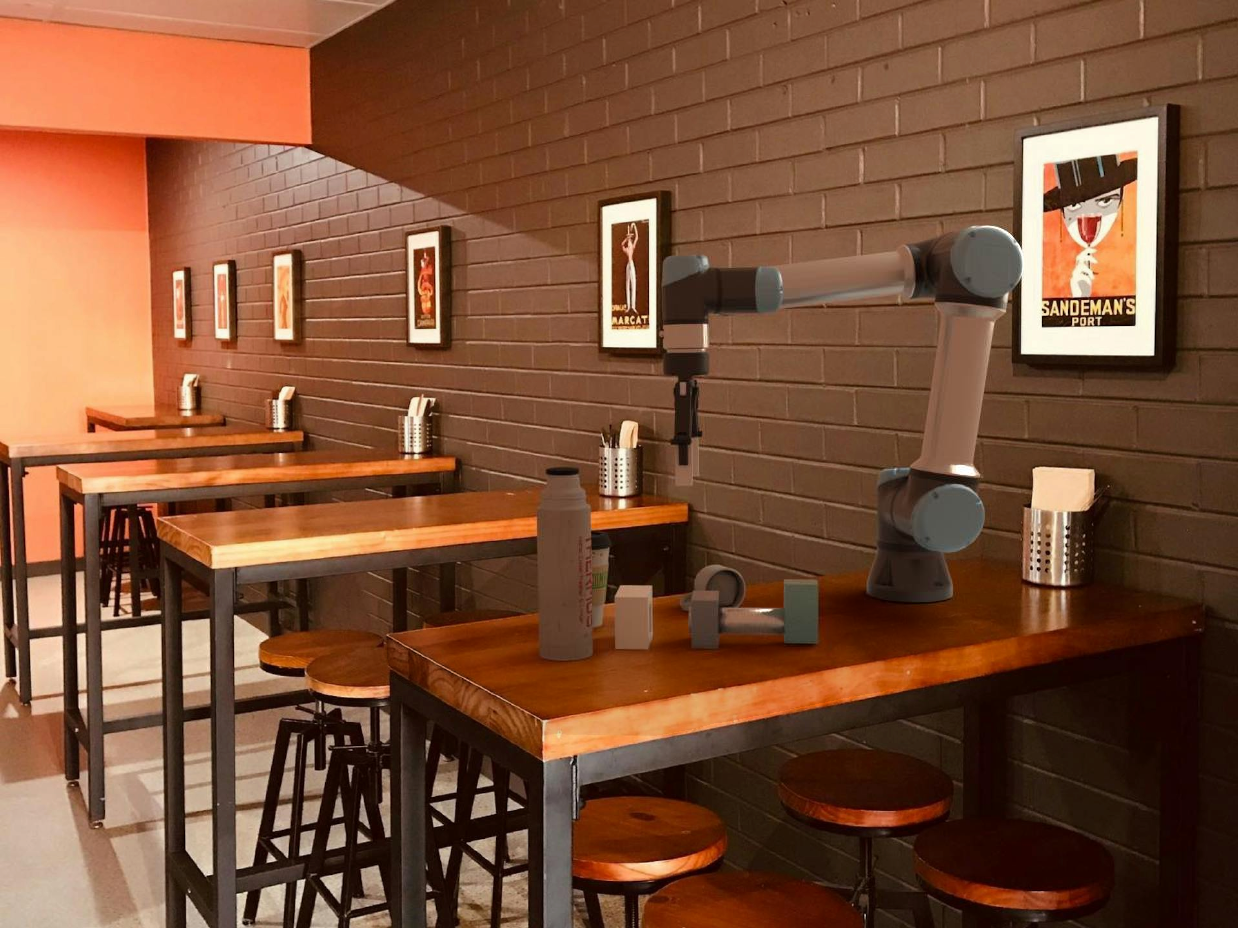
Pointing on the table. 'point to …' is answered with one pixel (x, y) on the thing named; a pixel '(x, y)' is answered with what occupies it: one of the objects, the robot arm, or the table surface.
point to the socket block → (633, 617)
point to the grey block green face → (777, 615)
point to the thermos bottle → (564, 568)
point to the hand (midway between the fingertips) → (687, 481)
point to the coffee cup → (599, 573)
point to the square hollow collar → (704, 619)
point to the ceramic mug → (719, 586)
